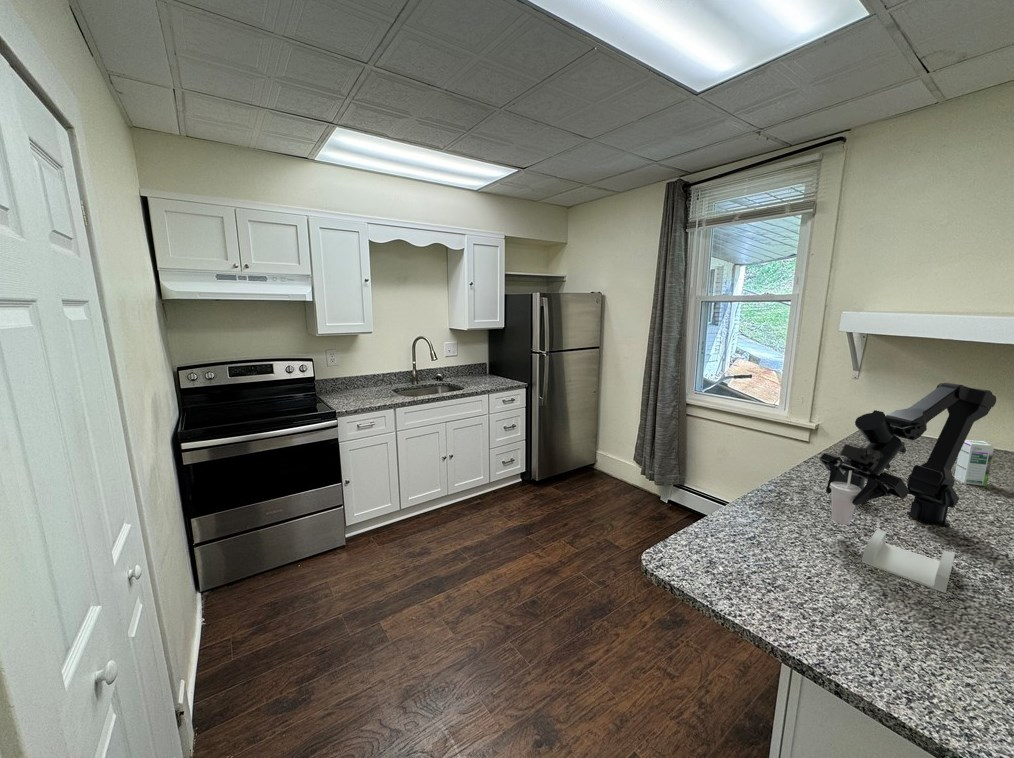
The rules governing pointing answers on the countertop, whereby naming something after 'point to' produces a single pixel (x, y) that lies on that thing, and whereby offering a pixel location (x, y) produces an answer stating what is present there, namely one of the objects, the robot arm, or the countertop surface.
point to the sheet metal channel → (908, 563)
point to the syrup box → (974, 462)
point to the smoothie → (843, 500)
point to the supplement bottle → (854, 477)
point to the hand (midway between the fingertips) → (840, 498)
